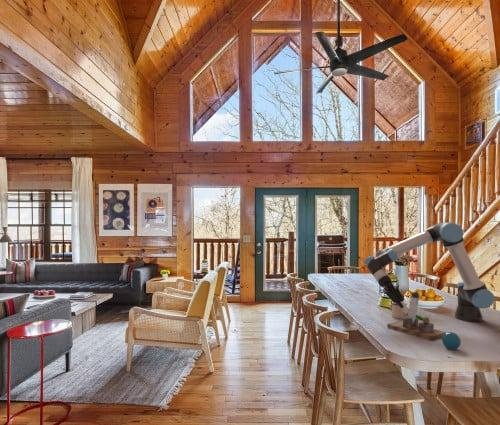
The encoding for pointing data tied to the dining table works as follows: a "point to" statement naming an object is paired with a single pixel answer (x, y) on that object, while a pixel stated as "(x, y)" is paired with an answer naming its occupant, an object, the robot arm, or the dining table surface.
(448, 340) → the ball
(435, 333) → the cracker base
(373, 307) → the dining table surface
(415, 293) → the lever
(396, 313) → the teacup with lid
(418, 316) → the green onion
